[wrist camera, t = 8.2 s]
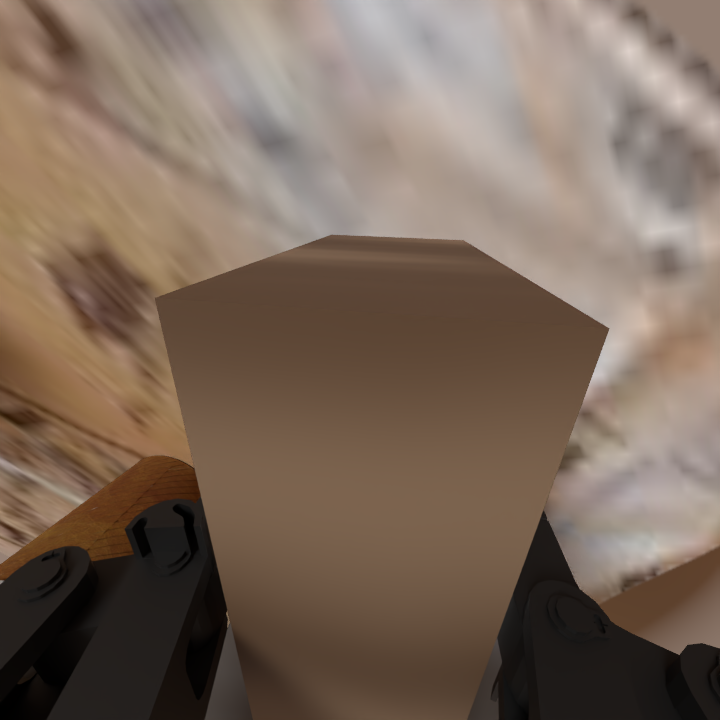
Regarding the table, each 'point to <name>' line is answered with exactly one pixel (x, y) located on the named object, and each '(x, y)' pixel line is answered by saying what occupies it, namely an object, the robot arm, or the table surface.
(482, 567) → the tan flared wedge
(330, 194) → the table surface
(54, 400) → the table surface
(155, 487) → the disposable coffee cup
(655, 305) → the table surface
